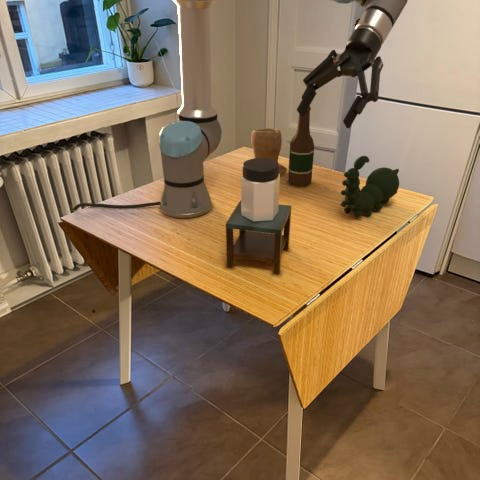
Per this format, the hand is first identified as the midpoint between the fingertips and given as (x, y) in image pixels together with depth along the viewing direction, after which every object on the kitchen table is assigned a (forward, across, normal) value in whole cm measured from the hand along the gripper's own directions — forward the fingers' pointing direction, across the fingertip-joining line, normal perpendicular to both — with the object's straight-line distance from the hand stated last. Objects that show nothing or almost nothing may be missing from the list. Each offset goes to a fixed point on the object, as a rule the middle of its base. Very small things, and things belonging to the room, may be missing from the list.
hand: (322, 119), depth 111 cm
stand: (+35, +1, -7) cm, 36 cm away
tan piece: (+6, +37, -36) cm, 52 cm away
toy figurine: (+5, -4, -37) cm, 38 cm away
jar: (+27, +1, +2) cm, 27 cm away
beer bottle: (+4, +24, -38) cm, 45 cm away
